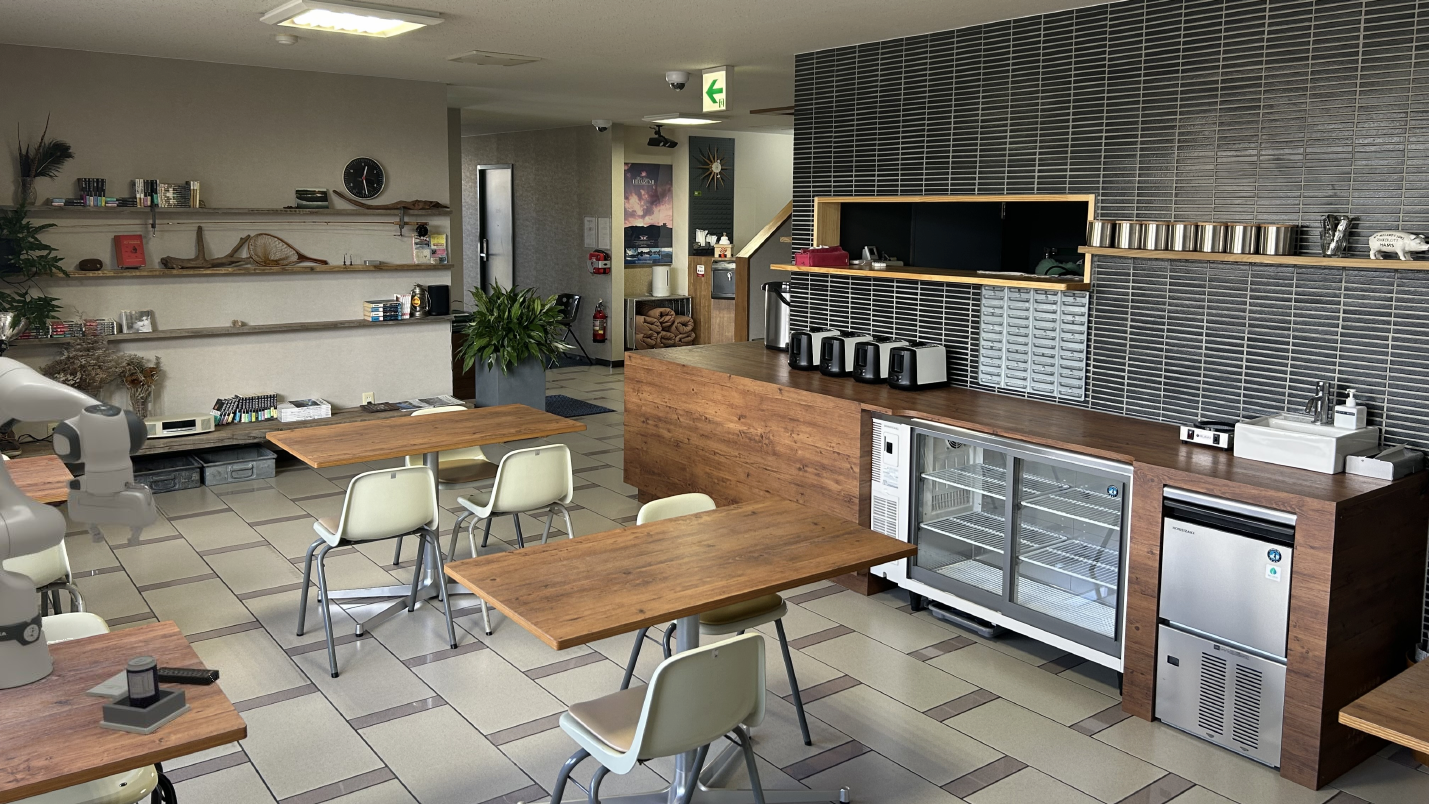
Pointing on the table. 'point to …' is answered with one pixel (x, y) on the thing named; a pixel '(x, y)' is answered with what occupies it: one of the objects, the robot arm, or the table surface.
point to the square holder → (144, 712)
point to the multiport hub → (187, 676)
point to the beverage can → (142, 682)
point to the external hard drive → (111, 687)
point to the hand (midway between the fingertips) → (115, 543)
